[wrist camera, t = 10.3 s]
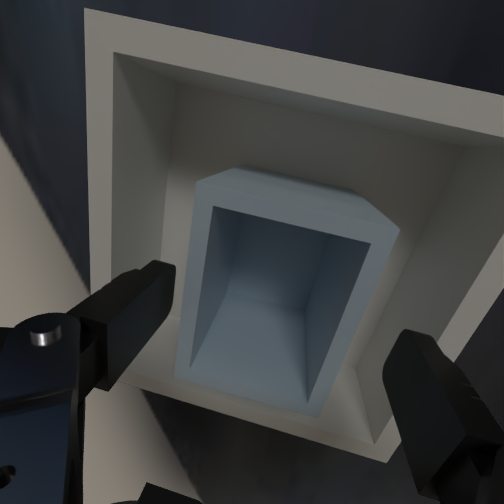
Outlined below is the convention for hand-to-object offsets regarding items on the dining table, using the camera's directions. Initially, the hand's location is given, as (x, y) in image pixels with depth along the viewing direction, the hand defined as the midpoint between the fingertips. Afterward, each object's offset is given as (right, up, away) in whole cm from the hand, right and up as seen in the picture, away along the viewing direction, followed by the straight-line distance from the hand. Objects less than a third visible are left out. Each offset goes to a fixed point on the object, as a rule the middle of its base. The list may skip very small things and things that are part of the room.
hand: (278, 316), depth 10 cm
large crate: (+1, +3, +7) cm, 8 cm away
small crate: (+1, +3, +6) cm, 7 cm away
